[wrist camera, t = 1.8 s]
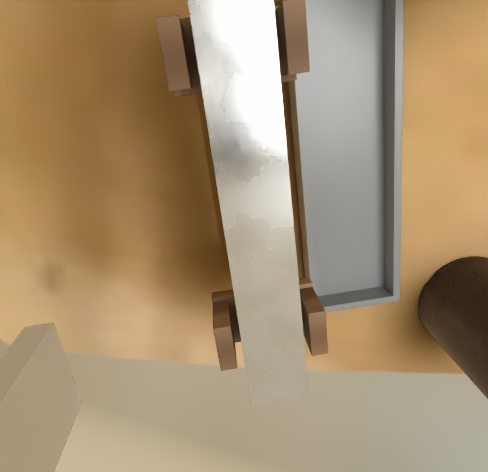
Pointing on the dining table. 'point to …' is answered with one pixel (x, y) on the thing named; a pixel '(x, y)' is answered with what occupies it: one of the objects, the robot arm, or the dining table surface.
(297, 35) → the rack
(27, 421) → the robot arm
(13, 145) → the dining table surface
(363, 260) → the tray
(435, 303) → the pillar candle
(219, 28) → the rail
